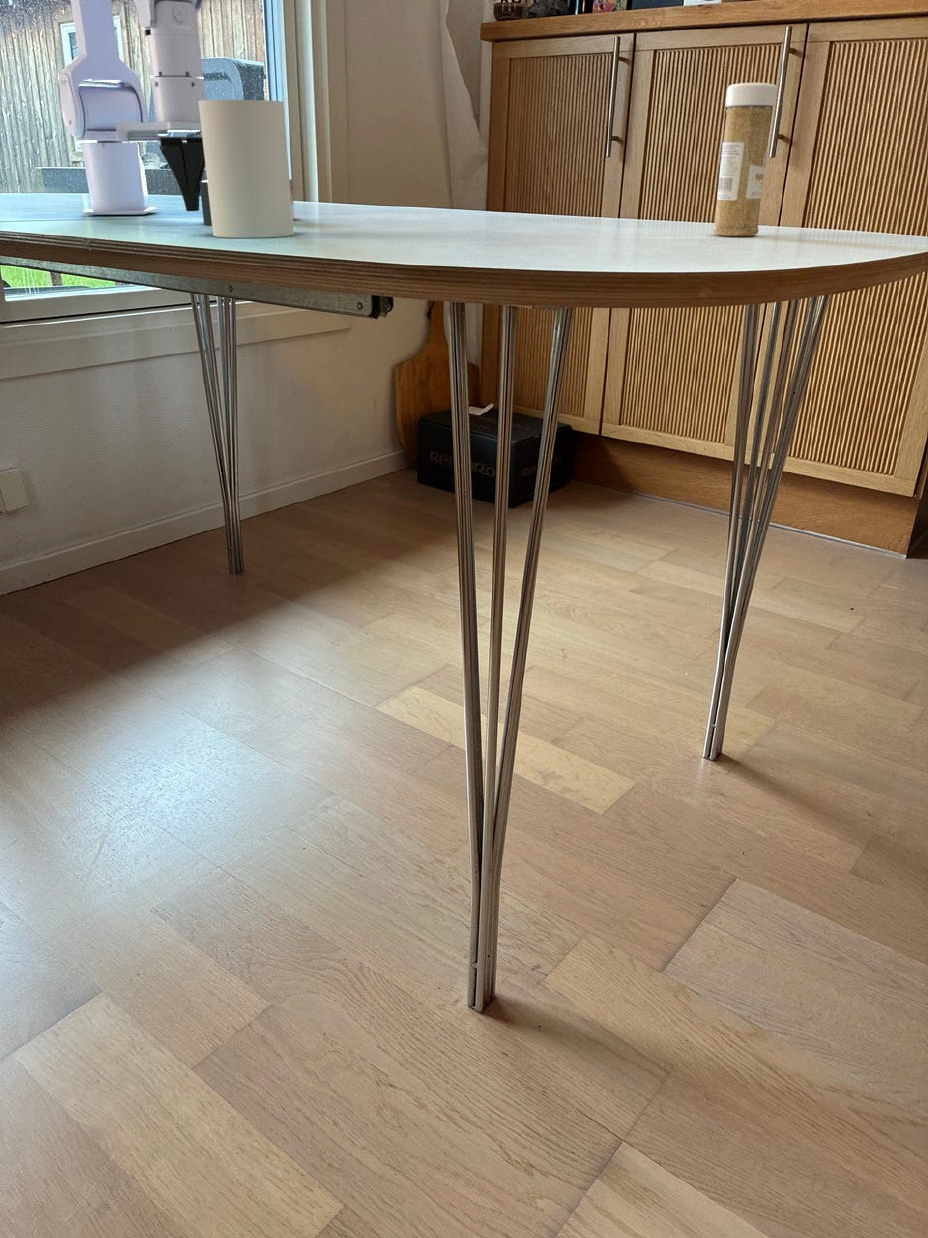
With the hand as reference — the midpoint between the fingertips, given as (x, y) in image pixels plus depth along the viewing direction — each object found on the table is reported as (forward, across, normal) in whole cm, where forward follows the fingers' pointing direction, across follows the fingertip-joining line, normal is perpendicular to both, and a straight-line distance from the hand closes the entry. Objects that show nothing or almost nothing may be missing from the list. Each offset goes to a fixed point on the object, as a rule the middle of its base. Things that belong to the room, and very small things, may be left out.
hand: (193, 210), depth 111 cm
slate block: (+1, +4, 0) cm, 4 cm away
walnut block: (+1, +9, +8) cm, 12 cm away
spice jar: (+2, +58, -23) cm, 62 cm away
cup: (+2, +9, -17) cm, 20 cm away
